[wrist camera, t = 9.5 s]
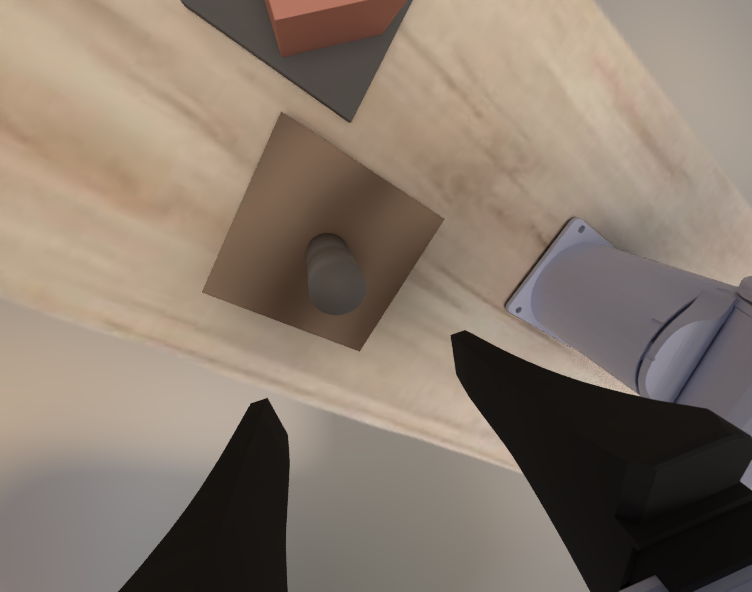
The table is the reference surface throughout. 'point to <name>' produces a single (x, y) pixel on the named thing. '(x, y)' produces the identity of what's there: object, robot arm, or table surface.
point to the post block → (319, 240)
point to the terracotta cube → (327, 22)
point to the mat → (308, 69)
